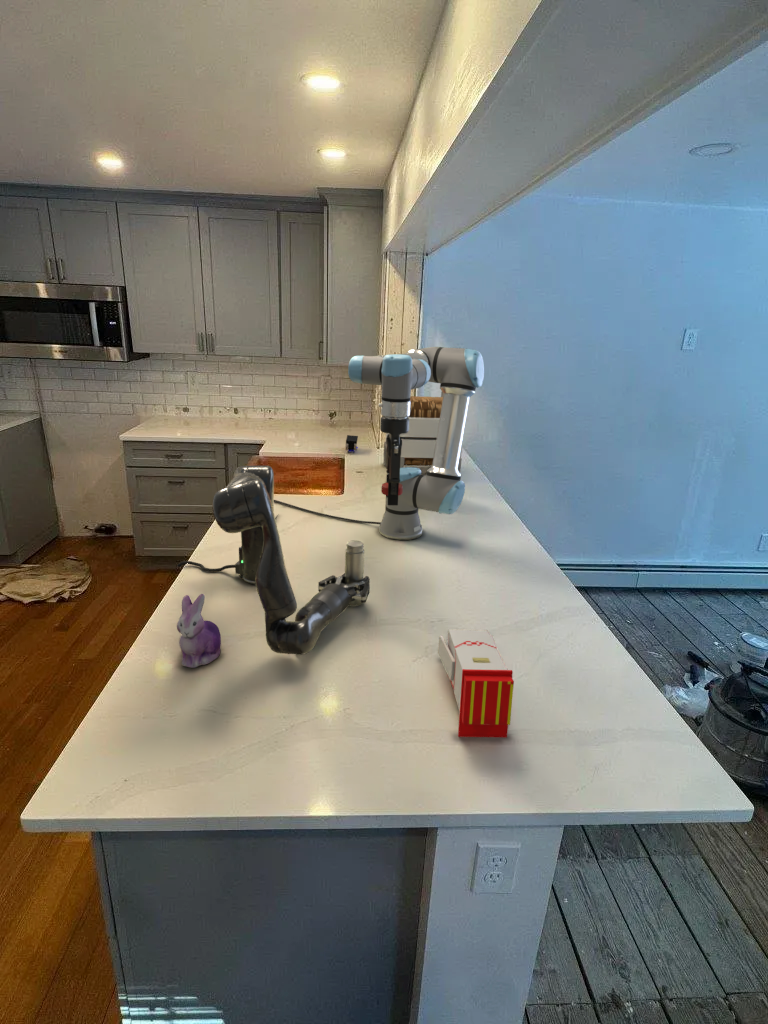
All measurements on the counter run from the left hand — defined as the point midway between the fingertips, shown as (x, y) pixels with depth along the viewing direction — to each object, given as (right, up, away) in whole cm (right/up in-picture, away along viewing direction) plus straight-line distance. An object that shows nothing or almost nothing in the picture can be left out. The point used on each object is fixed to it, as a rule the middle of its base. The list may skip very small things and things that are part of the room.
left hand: (358, 577), depth 153 cm
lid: (+9, +25, +1) cm, 26 cm away
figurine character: (-11, +51, +158) cm, 166 cm away
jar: (-1, -7, 0) cm, 7 cm away
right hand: (+9, +21, +2) cm, 23 cm away
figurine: (-34, -15, -27) cm, 45 cm away
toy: (+25, -20, -34) cm, 47 cm away
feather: (-33, +15, +56) cm, 66 cm away
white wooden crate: (+24, +36, +122) cm, 130 cm away
